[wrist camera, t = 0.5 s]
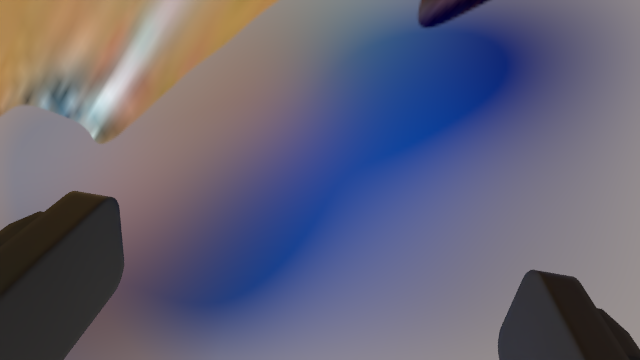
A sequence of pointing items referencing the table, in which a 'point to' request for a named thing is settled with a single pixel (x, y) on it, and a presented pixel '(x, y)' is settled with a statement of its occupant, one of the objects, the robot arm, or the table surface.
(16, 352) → the robot arm
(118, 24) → the table surface
